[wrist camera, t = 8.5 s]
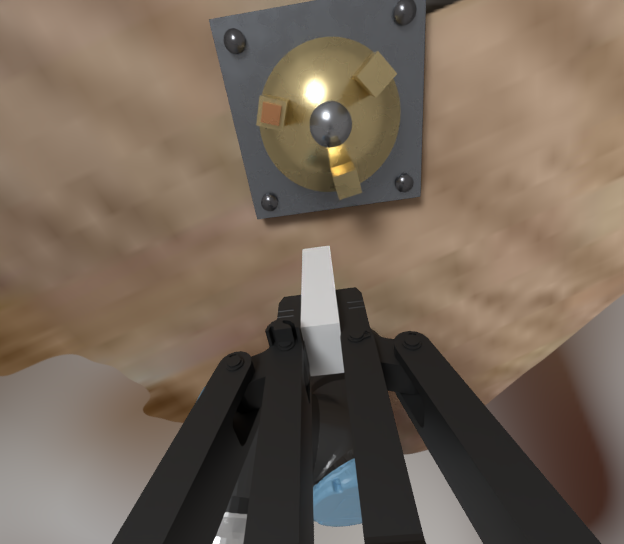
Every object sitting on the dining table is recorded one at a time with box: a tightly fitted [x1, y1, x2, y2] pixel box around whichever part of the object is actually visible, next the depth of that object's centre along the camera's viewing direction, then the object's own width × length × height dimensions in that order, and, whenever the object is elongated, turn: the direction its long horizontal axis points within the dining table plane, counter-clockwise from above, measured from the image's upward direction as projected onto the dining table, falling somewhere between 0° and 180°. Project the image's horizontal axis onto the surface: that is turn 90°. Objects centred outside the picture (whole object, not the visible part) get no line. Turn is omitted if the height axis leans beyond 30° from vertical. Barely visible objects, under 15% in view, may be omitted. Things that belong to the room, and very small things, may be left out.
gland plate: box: [209, 0, 426, 219], centre depth 36 cm, size 20×20×3 cm
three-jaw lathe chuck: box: [256, 37, 401, 200], centre depth 32 cm, size 14×14×6 cm
